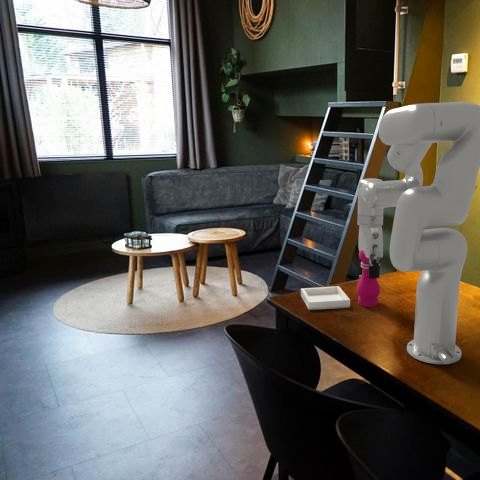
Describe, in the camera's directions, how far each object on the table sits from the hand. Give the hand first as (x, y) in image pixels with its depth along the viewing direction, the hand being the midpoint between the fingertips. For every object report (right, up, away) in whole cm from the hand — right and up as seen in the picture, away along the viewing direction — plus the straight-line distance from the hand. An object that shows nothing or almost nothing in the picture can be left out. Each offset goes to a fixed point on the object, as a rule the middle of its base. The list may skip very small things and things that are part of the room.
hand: (368, 273), depth 153 cm
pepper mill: (0, -10, +2) cm, 10 cm away
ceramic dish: (-13, -9, +5) cm, 17 cm away
